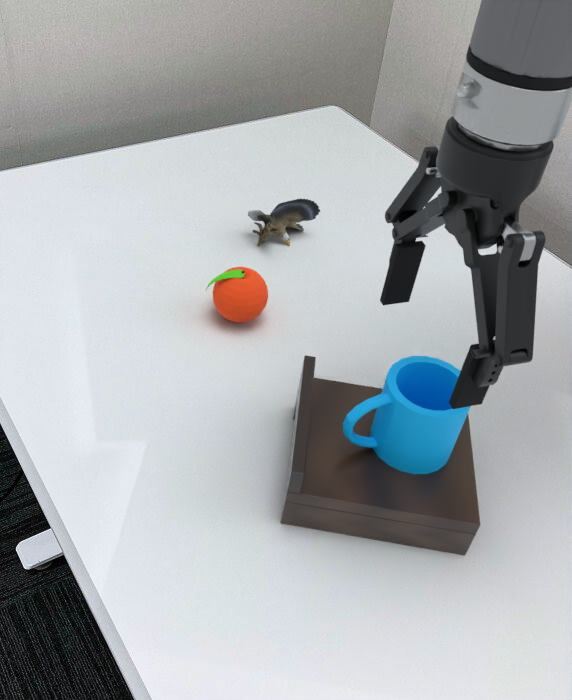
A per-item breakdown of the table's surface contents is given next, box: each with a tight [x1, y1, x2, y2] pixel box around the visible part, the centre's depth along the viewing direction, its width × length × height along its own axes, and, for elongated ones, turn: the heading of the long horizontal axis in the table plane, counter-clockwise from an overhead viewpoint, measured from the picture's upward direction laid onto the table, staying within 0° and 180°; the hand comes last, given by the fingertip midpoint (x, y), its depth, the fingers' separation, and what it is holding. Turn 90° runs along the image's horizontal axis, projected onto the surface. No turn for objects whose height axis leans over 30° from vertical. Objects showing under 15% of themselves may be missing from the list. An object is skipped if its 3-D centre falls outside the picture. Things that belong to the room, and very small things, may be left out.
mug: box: [343, 355, 472, 474], centre depth 75 cm, size 12×8×8 cm
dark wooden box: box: [280, 355, 481, 556], centre depth 78 cm, size 18×16×8 cm
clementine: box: [204, 266, 269, 323], centre depth 96 cm, size 8×7×7 cm
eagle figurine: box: [247, 198, 321, 247], centre depth 110 cm, size 8×7×9 cm
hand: (427, 349), depth 69 cm, fingers open, 13 cm apart
